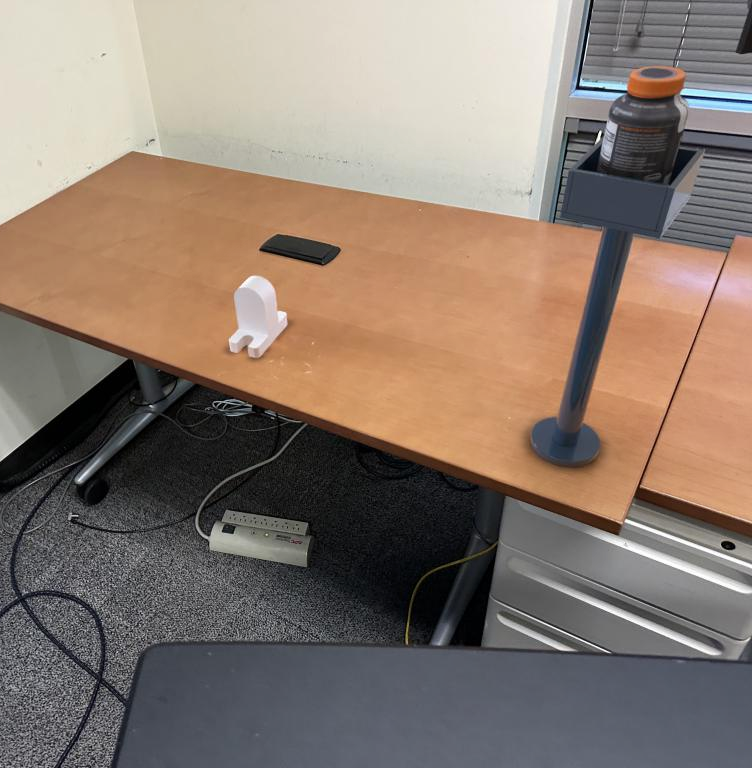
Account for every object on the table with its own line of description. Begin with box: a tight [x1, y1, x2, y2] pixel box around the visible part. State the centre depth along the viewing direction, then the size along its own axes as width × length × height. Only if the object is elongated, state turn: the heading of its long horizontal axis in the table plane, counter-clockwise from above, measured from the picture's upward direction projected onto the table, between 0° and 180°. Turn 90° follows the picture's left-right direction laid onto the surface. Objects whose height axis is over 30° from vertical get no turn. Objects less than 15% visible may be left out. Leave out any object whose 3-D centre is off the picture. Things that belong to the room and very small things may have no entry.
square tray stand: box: [529, 135, 706, 468], centre depth 72 cm, size 8×8×36 cm
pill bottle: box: [596, 65, 690, 185], centre depth 59 cm, size 6×6×11 cm
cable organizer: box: [228, 275, 288, 359], centre depth 104 cm, size 5×10×10 cm, turn 149°
